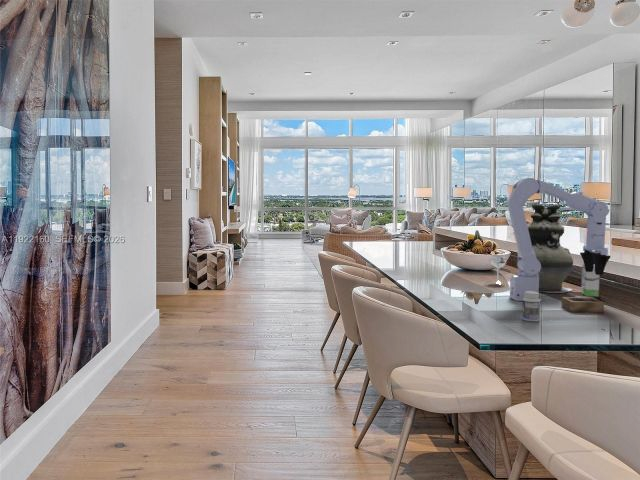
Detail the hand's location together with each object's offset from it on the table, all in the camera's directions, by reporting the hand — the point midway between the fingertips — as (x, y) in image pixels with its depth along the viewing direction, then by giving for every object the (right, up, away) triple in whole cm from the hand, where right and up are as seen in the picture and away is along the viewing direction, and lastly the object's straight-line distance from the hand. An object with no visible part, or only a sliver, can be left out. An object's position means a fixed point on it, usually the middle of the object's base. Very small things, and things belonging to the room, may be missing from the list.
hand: (593, 273), depth 179 cm
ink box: (+7, -10, +16) cm, 20 cm away
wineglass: (-19, -7, +44) cm, 49 cm away
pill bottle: (-35, -12, -29) cm, 46 cm away
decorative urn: (-6, -9, +27) cm, 29 cm away
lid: (-6, -11, -4) cm, 13 cm away
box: (-11, -11, -13) cm, 21 cm away
